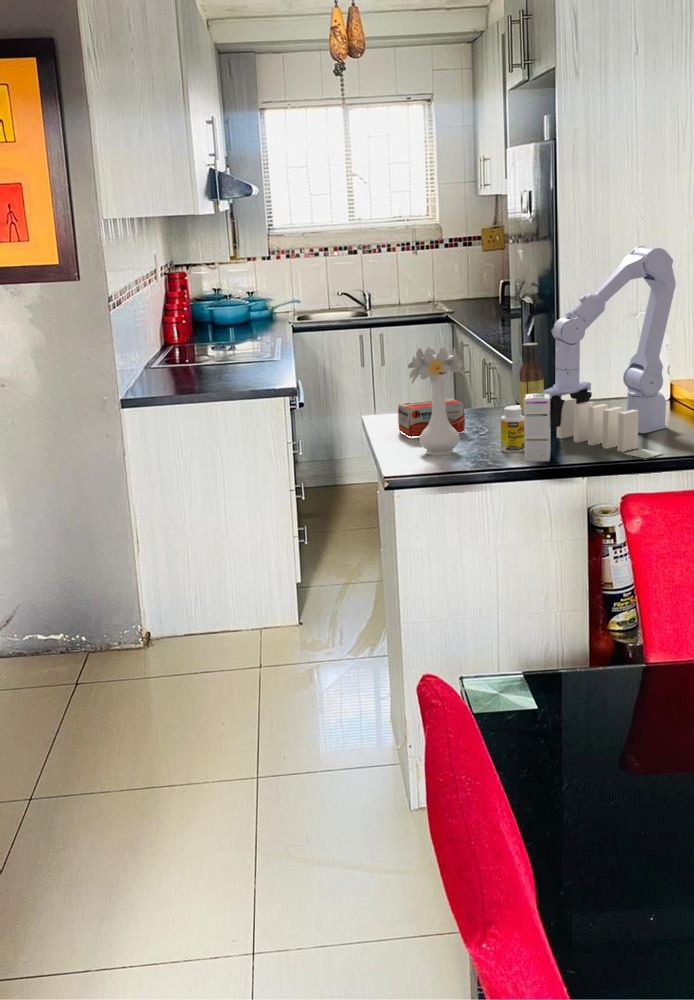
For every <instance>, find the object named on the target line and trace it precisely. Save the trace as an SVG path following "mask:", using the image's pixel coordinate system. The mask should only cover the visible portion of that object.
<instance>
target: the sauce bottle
mask: <svg viewBox="0 0 694 1000" xmlns="http://www.w3.org/2000/svg"><path fill="white" fill-rule="evenodd" d="M521 347H522V352H523V359H522V361H523V362H522V364H521V366H520V368H519V371H518V373H519V407H521V409H522V414H521V415H522V416H524V398H525V395H526V394H535V393H543V390H545V388H544V387H545V386H544V375H543V369H542V368H541V366H540V363H539V354H538V351H539V343H536V342H527V343H522V346H521Z"/></svg>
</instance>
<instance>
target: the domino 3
mask: <svg viewBox="0 0 694 1000" xmlns="http://www.w3.org/2000/svg"><path fill="white" fill-rule="evenodd" d="M606 409H609V405H608V404H606V403H601V404H598V405H594V406H592V407H589V411H588V440H587V445H589V446H592V445H593V446H597V445H601V444H602V441H603V410H606ZM600 443H601V444H600ZM596 444H597V445H596Z"/></svg>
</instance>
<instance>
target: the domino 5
mask: <svg viewBox="0 0 694 1000" xmlns="http://www.w3.org/2000/svg"><path fill="white" fill-rule="evenodd" d="M638 415H639V410H629V411H627V410H623V412H620V413H618V445H617V449H616V451H617V452H619V451H621V452H620V453H624V452H623V451H626V452H628V451H627V450H630V451H632V450H631V449H634V448H637V449H638V443H639V442H638V441H639V440H638V438H639V437H638V436H639V433H638ZM634 450H635V449H634Z"/></svg>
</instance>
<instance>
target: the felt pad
mask: <svg viewBox="0 0 694 1000" xmlns="http://www.w3.org/2000/svg"><path fill="white" fill-rule="evenodd" d="M624 454H627V455H626V456H628V455H633V456H634V455H636V456H638V455H641V456H640V457H642V458H643V457H644V458H648V457H652V458H654V457H653V456H656V457H658V456H657V455H660V454H663V455H664V453H663V452H658V451H653V450H649V449H643V448H640V449H634V450H630V451H627V452H623V455H624ZM637 454H638V455H637ZM660 456H661V455H660Z"/></svg>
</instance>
